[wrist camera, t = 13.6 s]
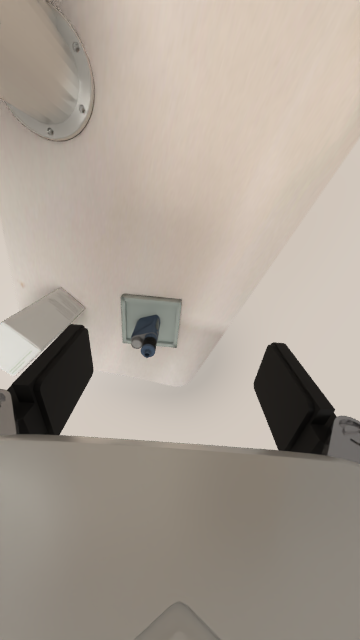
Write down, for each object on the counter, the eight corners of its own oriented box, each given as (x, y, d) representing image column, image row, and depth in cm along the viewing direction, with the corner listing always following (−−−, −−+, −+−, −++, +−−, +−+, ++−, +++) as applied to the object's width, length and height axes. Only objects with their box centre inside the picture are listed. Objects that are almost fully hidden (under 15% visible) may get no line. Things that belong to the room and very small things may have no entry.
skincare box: (64, 328, 46) (13, 379, 32) (37, 308, 43) (-29, 354, 30) (87, 306, 43) (42, 352, 29) (60, 283, 41) (-2, 322, 27)
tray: (123, 293, 41) (120, 297, 40) (181, 299, 42) (181, 302, 40) (124, 338, 47) (122, 342, 45) (176, 343, 47) (176, 347, 46)
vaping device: (163, 323, 44) (156, 359, 33) (139, 328, 44) (126, 365, 34) (159, 313, 43) (151, 347, 32) (135, 318, 43) (120, 353, 33)
